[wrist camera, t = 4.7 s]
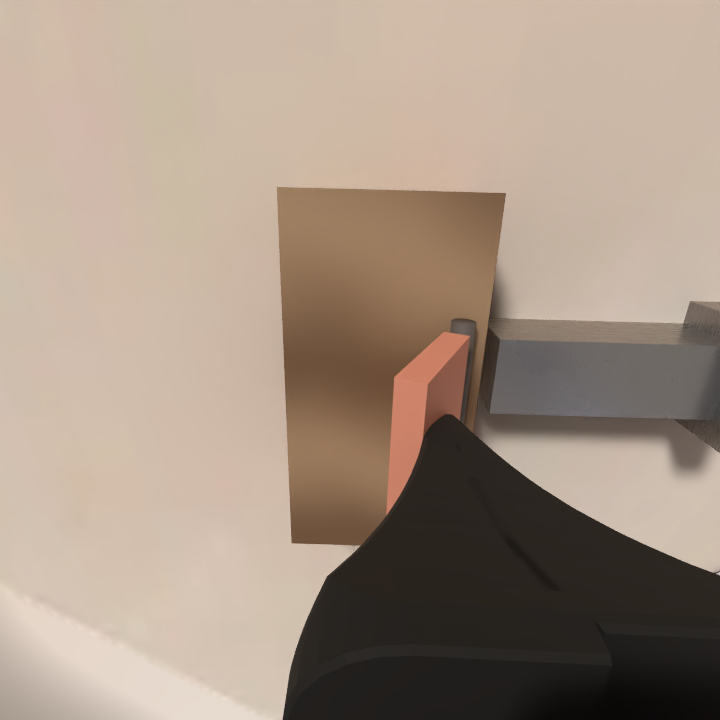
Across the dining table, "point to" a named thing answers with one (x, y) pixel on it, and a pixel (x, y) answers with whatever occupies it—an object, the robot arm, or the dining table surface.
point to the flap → (424, 403)
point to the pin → (608, 369)
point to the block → (371, 332)
